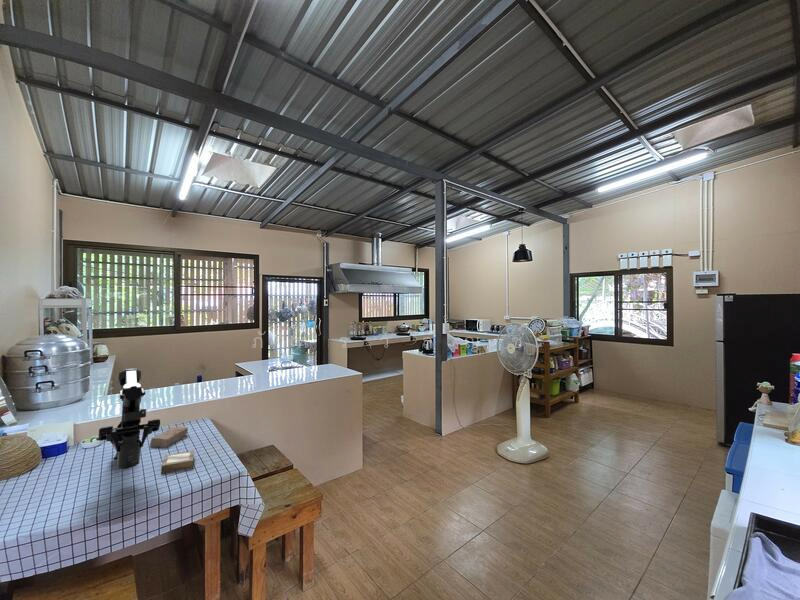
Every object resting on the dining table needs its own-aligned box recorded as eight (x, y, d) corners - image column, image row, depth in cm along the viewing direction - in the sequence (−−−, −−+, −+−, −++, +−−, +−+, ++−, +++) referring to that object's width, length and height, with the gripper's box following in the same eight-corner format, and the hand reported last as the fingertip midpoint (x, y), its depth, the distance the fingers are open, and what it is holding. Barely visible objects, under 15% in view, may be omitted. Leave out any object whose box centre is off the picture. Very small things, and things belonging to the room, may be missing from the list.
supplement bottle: (112, 467, 121) (115, 435, 122) (132, 460, 128) (135, 430, 128) (123, 471, 119) (126, 439, 119) (143, 463, 125) (146, 432, 126)
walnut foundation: (164, 462, 140) (164, 455, 141) (193, 457, 146) (194, 450, 146) (161, 473, 131) (161, 465, 131) (192, 467, 137) (193, 460, 137)
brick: (165, 448, 155) (166, 438, 156) (148, 447, 155) (149, 437, 156) (188, 435, 172) (188, 426, 172) (172, 435, 172) (173, 426, 172)
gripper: (101, 406, 121) (97, 445, 112) (161, 399, 134) (162, 433, 125) (99, 421, 126) (96, 459, 118) (158, 413, 139) (158, 447, 130)
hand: (129, 449), depth 123 cm, fingers closed on supplement bottle, 7 cm apart
